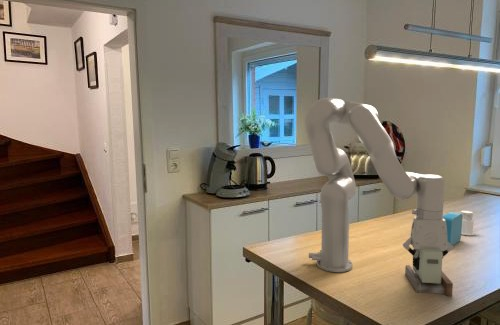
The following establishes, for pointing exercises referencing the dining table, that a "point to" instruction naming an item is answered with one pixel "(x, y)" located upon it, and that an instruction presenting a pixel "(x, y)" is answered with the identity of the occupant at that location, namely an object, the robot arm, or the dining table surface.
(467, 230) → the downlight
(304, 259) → the dining table surface
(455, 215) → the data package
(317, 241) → the dining table surface
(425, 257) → the slotted sage box
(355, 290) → the dining table surface
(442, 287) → the board
